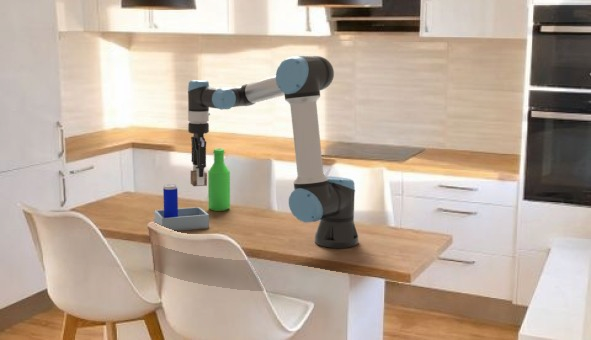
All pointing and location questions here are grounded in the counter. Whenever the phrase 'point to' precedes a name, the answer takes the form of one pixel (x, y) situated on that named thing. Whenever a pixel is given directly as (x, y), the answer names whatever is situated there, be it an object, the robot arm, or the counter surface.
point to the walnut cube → (194, 178)
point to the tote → (183, 219)
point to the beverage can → (170, 201)
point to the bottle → (219, 183)
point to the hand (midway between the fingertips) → (198, 183)
